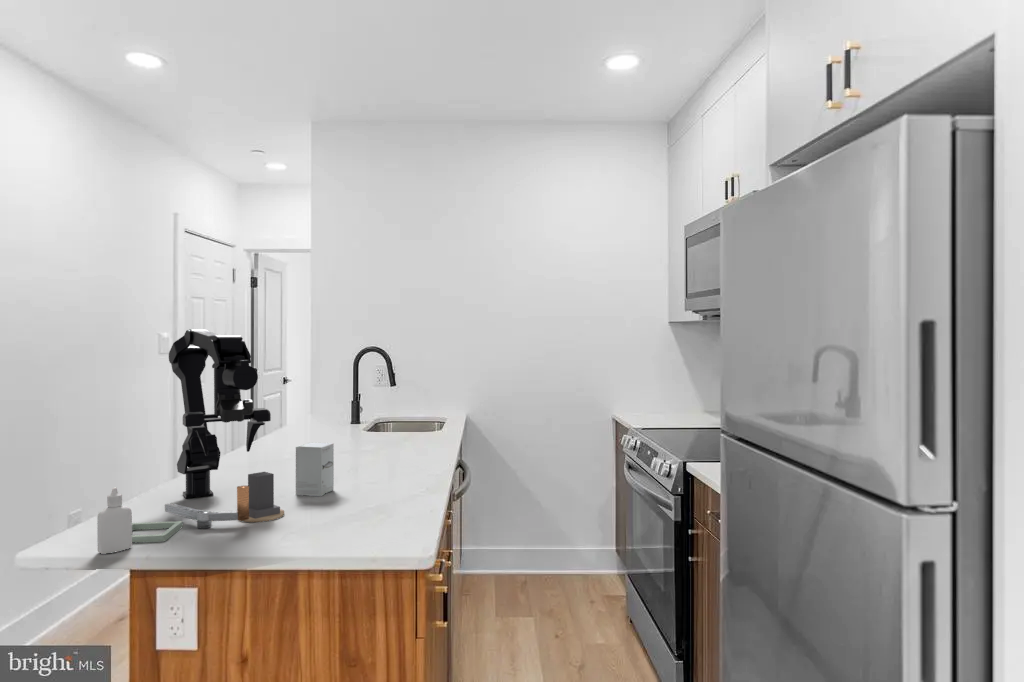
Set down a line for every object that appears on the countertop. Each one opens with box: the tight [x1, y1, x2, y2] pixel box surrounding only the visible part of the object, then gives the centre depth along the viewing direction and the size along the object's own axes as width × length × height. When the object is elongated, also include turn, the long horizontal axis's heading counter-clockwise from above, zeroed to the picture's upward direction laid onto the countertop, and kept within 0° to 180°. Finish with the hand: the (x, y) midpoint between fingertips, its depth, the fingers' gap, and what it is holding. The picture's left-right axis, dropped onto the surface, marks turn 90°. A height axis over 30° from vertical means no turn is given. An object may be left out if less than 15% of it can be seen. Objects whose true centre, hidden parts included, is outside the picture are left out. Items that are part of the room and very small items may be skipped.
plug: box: [247, 471, 281, 519], centre depth 153 cm, size 6×6×9 cm
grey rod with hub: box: [164, 485, 249, 529], centre depth 148 cm, size 21×8×8 cm, turn 56°
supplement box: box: [295, 442, 335, 497], centre depth 175 cm, size 7×7×13 cm
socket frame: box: [132, 520, 184, 544], centre depth 139 cm, size 10×10×1 cm
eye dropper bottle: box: [96, 487, 133, 555], centre depth 129 cm, size 4×6×12 cm
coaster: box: [243, 508, 285, 523], centre depth 153 cm, size 10×10×1 cm
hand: (227, 453), depth 160 cm, fingers open, 9 cm apart
